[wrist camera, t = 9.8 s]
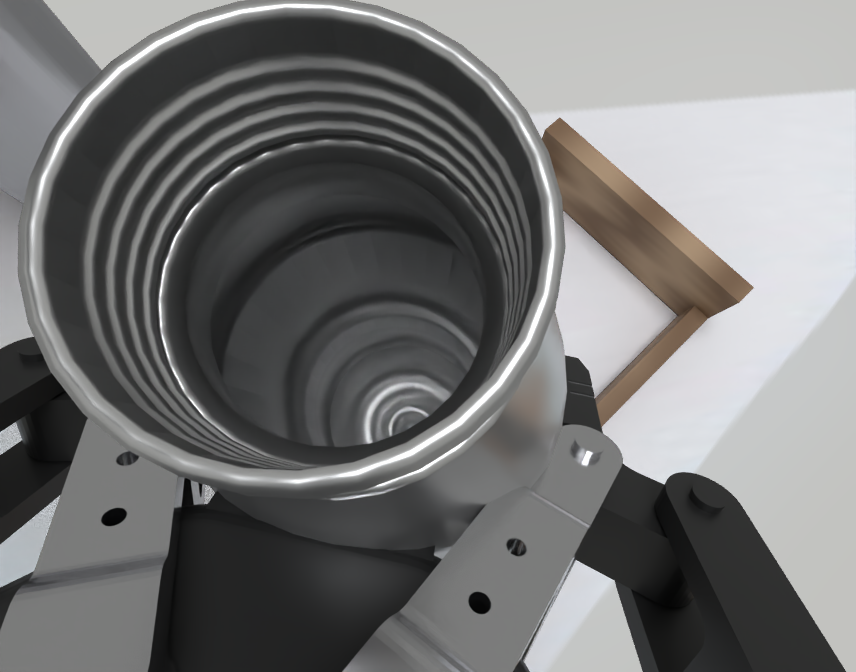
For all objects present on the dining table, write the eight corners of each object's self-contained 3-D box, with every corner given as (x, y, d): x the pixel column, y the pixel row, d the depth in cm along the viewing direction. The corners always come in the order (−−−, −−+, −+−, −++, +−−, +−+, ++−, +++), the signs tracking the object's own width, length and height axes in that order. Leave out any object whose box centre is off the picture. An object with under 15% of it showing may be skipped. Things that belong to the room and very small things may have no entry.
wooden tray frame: (284, 389, 30) (256, 376, 25) (540, 166, 34) (559, 117, 29) (445, 576, 28) (448, 600, 23) (703, 314, 31) (753, 287, 26)
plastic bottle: (420, 539, 22) (326, 1209, 2) (306, 434, 23) (-425, 246, 3) (514, 424, 23) (1001, 182, 3) (402, 329, 24) (279, -263, 4)
